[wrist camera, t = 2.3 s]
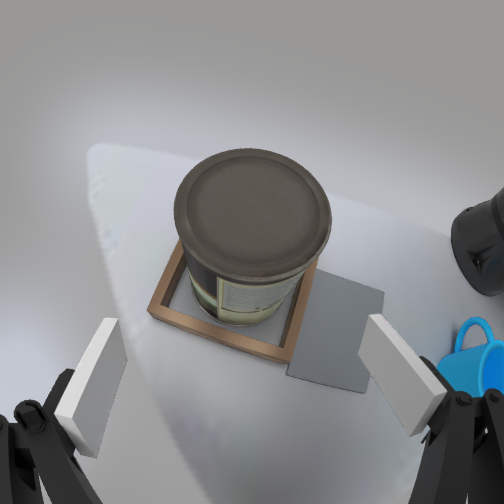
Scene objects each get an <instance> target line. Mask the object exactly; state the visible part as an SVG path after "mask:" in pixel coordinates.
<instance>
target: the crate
mask: <svg viewBox="0 0 504 504" xmlns="http://www.w3.org/2000/svg"><path fill="white" fill-rule="evenodd" d="M318 257H319V256H318ZM317 261H318V258H317V259H316V260H315V261H314V262H313V263H312V264H311V265H310V266H309V267H308V268H307V269H306V270H305V272H304V273H303V274H302V276H301V277H300V279H299V280H298V282H297V286H296V290H295V293H294V297H293V300H292V304H291V307H290V311H289V314H288V318H287V321H286V325H285V328H284V332H283V335H282V338H281V342H280V345H279V347H278V346H274V345H271V344H268V343H265V342H262V341H259V340H255V339H252V338H249V337H246V336H243V335H240V334H237V333H235V332H232V331H229V330H226V329H223V328H220V327H217V326H215V325H212V324H209V323H206V322H204V321H201V320H198V319H196V318H193V317H190V316H188V315H185V314H183V313H180V312H177V311H175V310H172V309H170V308H168V305H169V303H170V301H171V298H172V296H173V294H174V291H175V289H176V287H177V284H178V282H179V280H180V278H181V275H182V273H183V271H184V268H185V266H186V264H187V263H186V259H185V255H184V251H183V247H182V243H181V240H180V239H179V241H178V243H177V245H176V247H175V249H174V251H173V253H172V255H171V257H170V260H169V262H168V264H167V266H166V268H165V270H164V272H163V275H162V277H161V279H160V281H159V283H158V285H157V288H156V290H155V292H154V294H153V297H152V299H151V301H150V304H149V306H148V308H147V311H148V312H149V313H150V315H151V316H152V317H153V318H156V319H158V320H160V321H163V322H165V323H168V324H170V325H173V326H175V327H178V328H180V329H183V330H185V331H188V332H190V333H193V334H196V335H198V336H201V337H204V338H206V339H209V340H212V341H215V342H218V343H220V344H223V345H226V346H229V347H232V348H235V349H238V350H241V351H244V352H247V353H250V354H253V355H256V356H259V357H262V358H266V359H269V360H272V361H275V362H279V363H282V364H285V363H288V362H291V360H292V356H293V353H294V349H295V346H296V342H297V339H298V335H299V332H300V328H301V324H302V321H303V317H304V313H305V310H306V306H307V302H308V298H309V294H310V290H311V286H312V282H313V278H314V274H315V270H316V266H317Z"/></svg>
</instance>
